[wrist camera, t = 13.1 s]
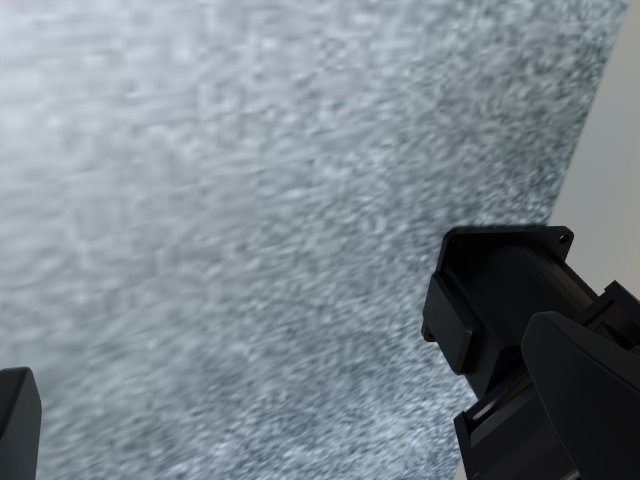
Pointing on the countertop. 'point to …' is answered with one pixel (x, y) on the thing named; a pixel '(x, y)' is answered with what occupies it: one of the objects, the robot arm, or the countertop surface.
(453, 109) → the countertop surface
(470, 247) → the robot arm
